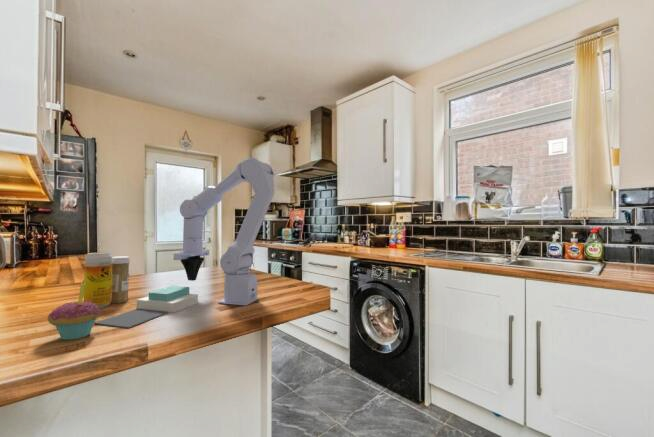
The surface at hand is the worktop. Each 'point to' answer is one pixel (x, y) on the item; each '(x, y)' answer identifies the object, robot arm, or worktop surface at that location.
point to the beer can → (98, 278)
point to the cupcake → (75, 317)
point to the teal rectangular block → (168, 293)
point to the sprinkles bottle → (120, 279)
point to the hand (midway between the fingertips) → (191, 280)
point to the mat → (131, 318)
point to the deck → (168, 303)
